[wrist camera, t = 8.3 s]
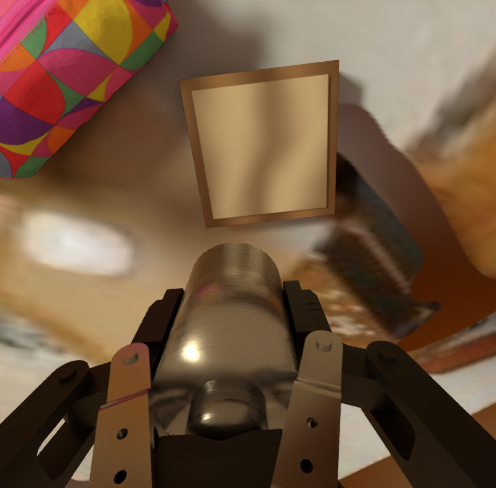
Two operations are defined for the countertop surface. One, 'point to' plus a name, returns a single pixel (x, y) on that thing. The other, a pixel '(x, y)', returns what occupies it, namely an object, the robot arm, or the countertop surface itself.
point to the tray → (264, 142)
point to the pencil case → (67, 68)
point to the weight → (228, 349)
